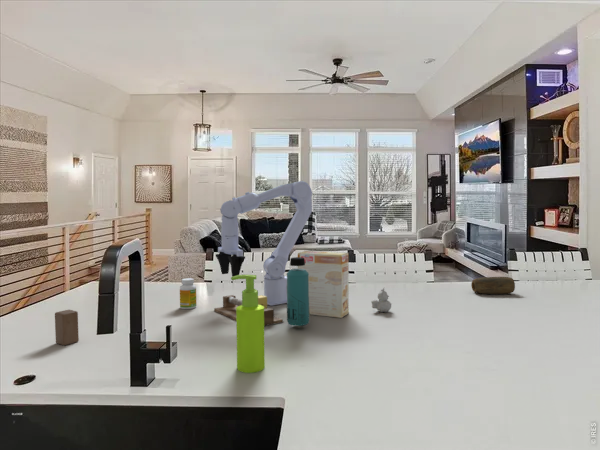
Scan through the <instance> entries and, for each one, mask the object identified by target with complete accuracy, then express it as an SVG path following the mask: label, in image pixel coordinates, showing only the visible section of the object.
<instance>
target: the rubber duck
mask: <svg viewBox="0 0 600 450" xmlns="http://www.w3.org/2000/svg"><path fill="white" fill-rule="evenodd" d="M389 297H390V296H389V294H388V293H387V291H386V290H385V287H383V289H380V291H379V292H378V293H377V299H372V300H371V305H372V306H371V308H372V309H376V310H377V311H378V312H381V313H386V312H389V311H390V310H391V308H392V303H391V301H389Z"/></svg>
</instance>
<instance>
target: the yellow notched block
mask: <svg viewBox="0 0 600 450" xmlns="http://www.w3.org/2000/svg"><path fill="white" fill-rule="evenodd" d="M258 305H262V306H264V309H268V304H267V297H266V296H264V294H263V295H258Z"/></svg>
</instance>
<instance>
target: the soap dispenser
mask: <svg viewBox="0 0 600 450" xmlns="http://www.w3.org/2000/svg"><path fill="white" fill-rule="evenodd" d="M230 280H232V281H236V280H245V288H244V290H242V291H241V300H242V305H241V306H238V307H237V308H236V320H235V321H236V369H237V371H239V372H241V373H245V374H253V373H258V372H262V371H263V370H264V369H265V366H266V365H265V363H266V361H265V359H266V358H265V357H266V356H265V353H266V351H265V326H264V306H262V305H258V296H259V290H257V289H256V288H255V280H257V275H256V274H239V275H237V276H233V277H232V276H231V277H230Z"/></svg>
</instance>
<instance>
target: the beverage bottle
mask: <svg viewBox="0 0 600 450" xmlns="http://www.w3.org/2000/svg"><path fill="white" fill-rule="evenodd" d="M289 265H290V266H293V267H298V266H304V265H305V260H304V258H301V257H298V256H296V257H291V258H290V263H289ZM286 276H287V287H286V288H287V293H286V294H287V303H286V321H287V324H288V325H290V326H297V327H298V326H302V327H303V326H306V325H308V324H309V323H310V314H309V313H310V312H309V307H310V306H309V273H308V272H307V271H306V270H305V269H298V268H292V269H289V270H288V272H286Z"/></svg>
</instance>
